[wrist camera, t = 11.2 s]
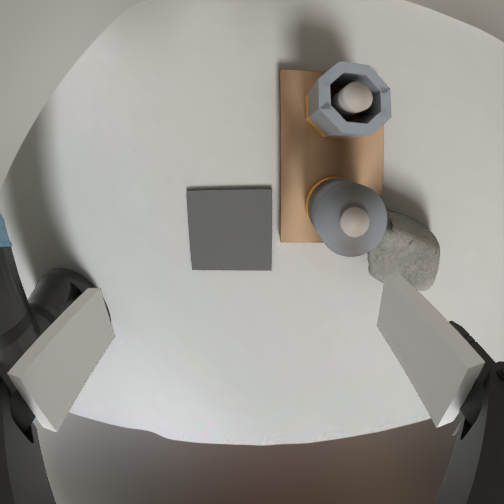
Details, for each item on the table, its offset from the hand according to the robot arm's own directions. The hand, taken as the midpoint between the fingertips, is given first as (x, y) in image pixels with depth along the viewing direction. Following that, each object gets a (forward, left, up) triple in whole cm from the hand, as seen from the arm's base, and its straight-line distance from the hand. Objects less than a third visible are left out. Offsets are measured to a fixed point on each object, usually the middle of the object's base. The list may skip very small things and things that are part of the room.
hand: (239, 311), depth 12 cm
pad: (-3, -3, -23) cm, 23 cm away
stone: (+18, -4, -24) cm, 30 cm away
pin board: (+9, +6, -23) cm, 25 cm away
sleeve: (+9, +12, -21) cm, 26 cm away
